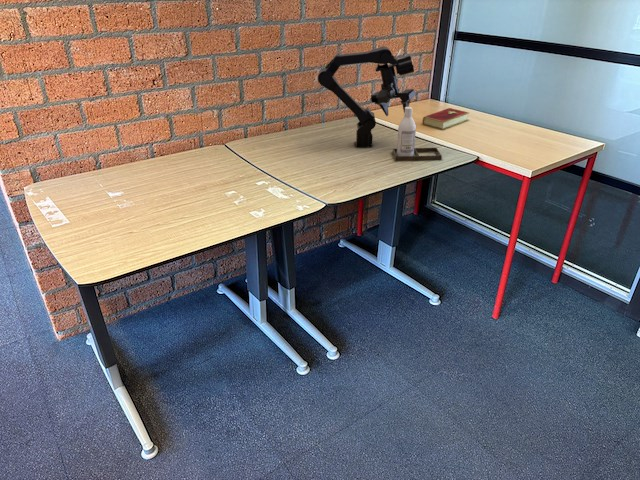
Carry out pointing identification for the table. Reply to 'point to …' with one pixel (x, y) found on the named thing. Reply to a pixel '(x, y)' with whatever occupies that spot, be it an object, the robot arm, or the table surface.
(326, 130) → the table surface
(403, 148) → the bath foam
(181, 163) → the table surface
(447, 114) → the hardcover book
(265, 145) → the table surface
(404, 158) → the tray
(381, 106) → the robot arm
